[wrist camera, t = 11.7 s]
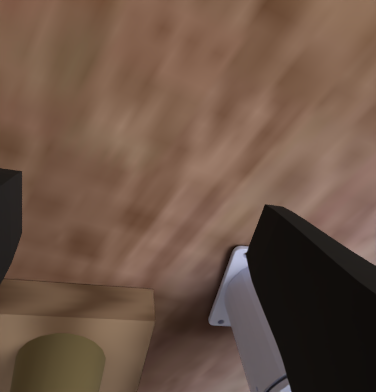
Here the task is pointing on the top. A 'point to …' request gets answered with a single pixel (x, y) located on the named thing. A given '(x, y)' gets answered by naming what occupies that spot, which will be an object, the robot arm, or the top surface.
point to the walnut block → (79, 324)
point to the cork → (58, 365)
